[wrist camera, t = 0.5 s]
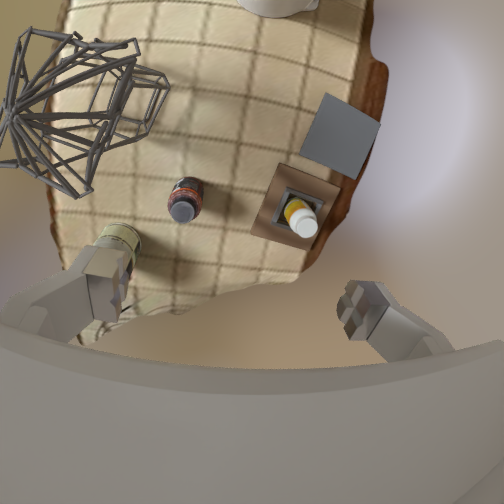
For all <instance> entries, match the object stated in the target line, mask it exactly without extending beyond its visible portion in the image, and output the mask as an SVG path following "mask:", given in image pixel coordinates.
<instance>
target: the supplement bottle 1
mask: <svg viewBox="0 0 504 504" xmlns="http://www.w3.org/2000/svg"><path fill="white" fill-rule="evenodd" d="M202 200H203V186H202V184H201V183H200V181H199V180H197V179H196V178H193V177H184V178H182V179H180V180H179V181H178V182H177V183H176V185H175V186H174V188H173V191H172V193H171V195H170V198H169V200H168V210H169V213H170V214H171V216H172V218H173V219H174V220H175V221H176V222H178V223H184V224H185V223H188V222H190V221H191V220H193V219H195V218H196V217H197V216H198V215H199V213H200V211H201V207H202Z"/></svg>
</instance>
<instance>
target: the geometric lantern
mask: <svg viewBox="0 0 504 504" xmlns="http://www.w3.org/2000/svg"><path fill="white" fill-rule="evenodd" d="M26 32H27V35H26V38H25V41H24V44H23V47H22V45H21V41H20V38H21V37H22V36H23V35H24V34H25V33H26ZM31 34H36V35H40V36H44V37H48V38H51V39H55V40H58V41H62V43H61V44H60V45H59V47H58V48H57V49H56V50H55V51H54V52H53V53H52V55H51V56H50V57H49V58H48V60H47V61H46V62H45V63H44V64H43V66H42V67H41V68H40V69H39V71H38V72H37V73H36V75H35V76H34V77H33V79H32V80H31V81H29V80H28V75H27V71H26V67H25V62H24V57H25V53H26V50H27V46H28V43H29V40H30V36H31ZM73 35H75V36H76V37H77V38H78V39H75V38H73ZM72 38H73V39H72ZM82 39H83V37H82V36H81V35H80V34H78V33H77V32H76V31H74V32H73V34H65V33H59V32H53V31H45V30H38V29H33V28H32V26H30V27H29V28H28V29H27V30H26V31H24V32H23V33H22V34H21V35H20V36H19V37H18V40H17V42H16V44H15V48H14V53H13V59H12V64H11V68H10V73H9V79H8V84H7V91H6V97H5V98H3V102H2V104H1V107H0V120H1V117H2V114H3V110H4V111H5V113H6V116H5V118H4V120H3V122H2V124H1V126H0V136H1V134H2V136H1V140H0V147H1V144H2V141H3V138H4V136H5V133H6V130H7V127H8V128H9V132H10V136H11V140H12V143H13V147H14V150H15V153H16V156H17V159H12V160H5V161H0V168H18V167H19V168H20V169H22V170H23V171H25V172H26V173H28V174H30V175H31V176H33V177H34V178H38V179H39V180H41V181H43V182H45V183H47V184H48V185H50V186H52V187H54V188H56V189H58V190H59V191H61V192H63V193H65V194H67V195H69V196H71V197H73V198H74V199H75V200H76V199H78V198H79V199H80V198H82V197H84V196H85V195H87V194H89V193H91V192H93V191H94V189H93V188H92V187H91V183H92V180H93V177H94V174H95V171H96V168H97V165H98V162H99V159H100V157H101V155H102V154H103V152H106V151H108V150H111V149H113V148H117V147H120V146H124V145H127V144H131V143H134V142H137V141H139V140H141V139H142V138H144V137H146V136H147V135H148V134H149V131H150V129H151V127H152V125H153V123H154V120H155V118H156V116H157V114H158V112H159V110H160V108H161V106H162V104H163V102H164V100H165V98H166V96H167V94H168V92H169V90H170V84H169V82H168V80H167V78H166V76H165V74H164V73H161V72H158V71H155V70H152V69H149V68H147V67H144V66H141V65H138V64H136V61H137V58H136V57H137V56H140V55H141V53H140V49H139V46H138V43H137V39H136V38H131V39H129V40H126V41H123V42H121V43H104V42H102V41H101V40H99V39H98V38H95V39H94V41H95V42H97V43H95V42H92V43H90V44H88V43H86V42H83V41H81V40H82ZM132 41H133V42H134V45H135V48H136V52H137V53H136V54H133V55H130V56H126V57H123V58H120V59H117V58H111V57H104V56H102V55H101V54H102V53H104V52H106V51H110V50H118V49H126V48H127V47H128V44H127V43H129V42H132ZM67 43H68V44H71V45H74V46H75V49H74V54H73V55H71V56H68V57H65V58H61V60H60V62H59V64H58V65H57V66H55V67H53V68H52V69H50V70H48V71H46V72H44V71H45V69H46V68H47V67H48V66H49V64H50V63H51V62H52V61H53V60H54V58H55V57H56V56H57V55H58V54H59V52H60V51H61V50H62V49H63V48H64V47H65V45H66V44H67ZM79 47H82V48H83V49H81V50H80V51H78V49H79ZM88 50H90V51H93V50H94V51H95V52H97V53H94V54H88V53H86V52H87V51H88ZM17 55H19V62H18V65H17V69H16V72H15V66H16V60H17ZM97 55H98V56H97ZM77 58H84V59H82V60H80V61H76V59H77ZM89 59H99V60H103V61H105V62H107V63H105V64H102V65H97V64H92V63H87V62H85V61H87V60H89ZM62 62H63V63H62ZM69 64H72V65H70V66H68V65H69ZM77 65H84V66H90V67H94V68H92V69H89V70H87V71H84V72H82V73H80V74H77V75H75V76H73V77H70V78H68V79H66V80H64V81H62V82H59V83H57V84H55V85H53V84H54V82H55V79H56V77H57V76H58V75H60V74H62V73H64V72H65V71H67V70H69V69H71V68H73V67H75V66H77ZM67 66H68V67H67ZM122 66H125V67H126V69H125V72H124V71H123V70H122ZM119 67H120V68H119ZM134 67H137V68H140V69H143V70H146V71H143V70H136V69H134ZM21 69H22V74H23V75H21V74H20V73H21ZM54 69H55V70H54ZM112 69H117V70H118V71H120V72H121V76H119V77H118V76H117V75H116V74H115V73H113V72H112V71H111V70H112ZM52 70H54V71H52ZM50 71H52V72H51V73H50V74H49V75H48V76H46V77H45V78H44V79H43V80H42V81H41V82H40V83H39V84H37V85H36V86H34V84H35V83H36V81H37V80H38V79H39V78H40V77H41V76H43V75H45V74H47V73H49V72H50ZM107 71H109V72H110V73H111V74H113V75H114V76H115V77H116V78H117V80H116V82H115V85H114V88H113V91H112V94H111V97H110V100H109V103H108V107H107V110H106V111H98V112H90V110H91V107H92V105H93V102H94V100H95V97H96V95H97V92H98V90H99V87H100V85H101V83H102V81H103V78H104V76H105V74H106V72H107ZM14 72H15V73H14ZM43 72H44V73H43ZM101 73H103V74H102V76H101V79H100V81H99V83H98V85H97V88H96V90H95V93H94V95H93V98H92V100H91V103H90V105H89V108H88V111H87V112H84V113H75V112H55V113H44V111H45V108H46V105H47V102H48V99H49V96H51V95H53V94H55V93H57V92H59V91H61V90H63V89H65V88H68V87H70V86H72V85H74V84H76V83H79V82H81V81H83V80H86V79H88V78H91V77H93V76H96V75H98V74H101ZM132 73H133V74H144V75H153V76H160V77H159V78H158V79H157V80H156V81H155V82H154V81H150V80H147V79H143V78H138V77H134V76H132ZM121 77H122V78H121ZM161 77H163V79H164V81H165V83H166V85H167V86H160V85H159V84H158V83H157V82H158V81H159V79H160V78H161ZM19 78H23V79H24V84H23V87H22V89H21V92H20V94H19V97H18V98H17V99H16V94H17V88H18V83H19ZM119 78H121V79H119ZM51 79H53V80H52V82H51V85H50V87H49V88H47V89H45V90H44V91H42V92H40V93H38V94H36V92H38V91H39V90H40V89H41V88H42V87H43V86H44V85H45V84H47V83H48V82H49V81H50V80H51ZM132 79H135V80H139V81H144V82H148V83H152V84H154V85H150V84H137V83H135V81H134V80H132ZM118 80H119V84H118V86H117V89H116V92H115V95H114V97H113V94H114V91H115V88H116V85H117V82H118ZM28 82H29V84H28ZM27 85H28V86H27ZM127 85H128V88H127V90H126V87H127ZM33 86H34V87H33ZM32 87H33V88H32ZM133 87H136V88H155V89H154V92H153V94H152V97H151V100H150V102H149V105H148V108H147V111H146V113H145V116H144V119H143V121H137V120H133V119H130V118H126V117H122V116H121V114H122V111H123V109H124V107H125V104H126V102H127V100H128V98H129V95H130V93H131V91H132V89H133ZM157 89H158V91H157V94H156V96H155V99H154V101H153V104H152V106H151V109H150V112H149V114H148V111H149V108H150V105H151V103H152V100H153V97H154V95H155V92H156V90H157ZM160 89H166V91H165V93H164V95H163V97H162V99H161V101H160V103H159V105H158V107H157V109H156V111H155V113H154V116H153V118H152V120H151V122H150V124H149V126H148V129H147V127H146V124H145V122H146V121H148V120H149V117H150V114H151V112H152V109H153V106H154V104H155V101H156V99H157V96H158V94H159V91H160ZM125 90H126V91H125ZM35 94H36V95H35ZM112 97H113V100H112ZM45 98H46V100H45V103H44V106H43V110H42V113H33V112H32V111H31V110H30V109H28V108H29V107H31V106H32V105H34V104H36V103H38V102H40V101H42V100H43V99H45ZM111 100H112V103H111ZM15 102H16V104H15ZM110 103H111V106H110ZM109 106H110V109H109ZM108 109H109V110H108ZM22 111H26V112H27V113H28V114H19V113H21V112H22ZM103 113H107V114H103ZM147 114H148V117H147V119H146V116H147ZM42 119H43V120H42ZM60 119H88V120H89V122H90V124H89V125H81V126H75V127H69V128H63V129H57V128H54V127H51V126H48V125H45V124H43V123H45V122H50V121H55V120H60ZM91 119H100V120H99V121H97V122H96V123H94V124H93V122H92V120H91ZM119 119H121V120H125V121H129V122H133V123H136V124H139V125H138V128H137V132H136V135H135V137H132V138H129V137H127V136H124V135H121V134H119V133H116V132H115V129H116V126H117V124H118V121H119ZM33 120H37V121H39V122H40V123H38V122H36V121H33ZM102 120H110V121H109V124H108V121H104V122H103V124H102V126H101V127H100V126H97V125H96V124H98V123H99V122H101V121H102ZM115 120H116V121H115ZM114 122H115V123H114ZM21 124H22V125H24V126H25V127H26V128H27V129H28V130H29V131H30V132H31V133H32V134H33V135H34V136H35V137H36V138H37V139H38V140H39V141H40V143H39V147H38V146H37V145H36V144H35V143H34V141H33V140H32V139H31V138H30V136H29V135H28V134H27V132H26V131H25V130H24V129H23V127H22V126H21ZM141 124H144V127H145V130H146V133H144V134H141V135H138V132H139V128H140V125H141ZM113 125H114V126H113ZM107 126H108V127H107ZM31 127H32V128H36V129H39V130H41V137H40V136H39V135H38V134H37V133H36V132H35V131H34V130H33V129H32V128H31ZM89 127H94V128H97V129H100V130H99V132H98V134H97V136H96V138H95V140H94V141H91V140H88V139H85V138H83V137H80V136H77V135H74V134H71V133H68V132H66V131H71V130H76V129H82V128H89ZM106 128H107V129H106ZM112 128H113V129H112ZM44 131H45V132H44ZM104 132H106V133H105V136H103V134H104ZM51 134H54V135H57V136H60V137H63V138H66V139H69V140H72V141H75V142H78V143H81V144H84V145H87V146H90V147H91V148H90V149H89V150H87V149H84V148H81V147H79V146H76V145H73V144H70V143H68V142H65V141H62V140H59V139H57V138H54V137H51V136H48V135H51ZM113 135H116V136H118V137H121V138H123V139H126V140H123V141H120V142H118V143H115V144H112V145H110V142H111V140H112V137H113ZM137 135H138V136H137ZM102 136H103V138H102ZM43 137H45V138H48V139H51V140H53V141H56V142H59V143H62V144H64V145H67V146H70V147H73V148H75V149H78V150H81V151H83V152H86V153H84V154H81V155H78V156H75V157H72V158H69V159H66V160H63V159H62V158H61V157H60V156H59V155H58V154H57V153H56V152H55V151H54V150H53V149H52V148H51V147H50V146H49V145H48V144H47V143H46V142H45V141H44V140H43ZM101 138H102V140H101ZM23 139H24V140H25V141H26V143H27V144H28V145H29V147H30V148H31V149H32V150H33V152H34V153H35V154H36V155H37V156H36V157H32V155H31V153H30V151H29V150H28V148H27V146H26V144H25V142H24V140H23ZM100 140H101V142H100ZM99 142H100V143H99ZM106 142H107V145H106V147H105V144H106ZM18 143H19V145H20V147H21V149H22V151H23V152H24V154H25V156H26V158H22V156H21V153H20V149H19V145H18ZM41 144H43V145H44V146H45V147H46V148H47V149H48V150H49V151H50V152H51V153H52V154H53V155H54V156H55V157H56V158H57V159H58V160H59V161H60V162H58V163H56V164H52V163H51V162H50V161H49V160H48V158H47V157H46V156H45V155H44V154H43V153H42V151H41V150H40V148H41ZM109 145H110V146H109ZM95 154H96V156H95V158H94V161H93V157H94V155H95ZM87 156H88V160H87V167H86V174H85V180H84V179H83V178H81V177H80V176H79V175H78V174H77V173H76V172H75V171H74V170H73V169H72V168H71V167H70V166H69V165H68V164H67V163H70V162H73V161H75V160H78V159H81V158H84V157H87ZM36 162H39V163H41V164H43V165H45V166H46V168H47V169H46V170H45V171H43V172H41V171H40V169H39V168H38V166H37V164H36ZM17 163H19V165H18V164H17ZM92 163H93V164H92ZM29 164H31V166H32V168H33V169H34V171H35V172H34V171H33V170H31V169H30V168H28V167H27V165H29ZM62 165H64V166H65V167H66V168H67V169H68V170H69V171H70V172H71V173H72V174H73V175H74V176H76V177H77V178H78V179H79V180H80V181H81V182H82V183H83V184H84V190H85V191H87V192H85V193H83V194H81V195H80V194H79V193H78V192H77V191H76V190H75V189H74V188H73V187H72V186H71V185H70V184H69V182H68V181H67V180H66V179H65V178H64V177H63V176H62V175H61V173H60V172H59V171H58V170H57V169H56V168H57V167H59V166H62ZM49 171H50V172H51V173H52V175H53V176H54V177H55V178H56V179H57V180H58V181H59V183H60V184H61V185H60V184H58V183H56V182H54V181H52V180H51V179H49V178H47V177H45V176H43V175H44V174H46V173H47V172H49ZM89 189H90V190H89Z"/></svg>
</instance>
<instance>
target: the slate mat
mask: <svg viewBox="0 0 504 504" xmlns="http://www.w3.org/2000/svg"><path fill="white" fill-rule="evenodd" d="M380 126H381V124H380V123H379V122H377V121H375V120H374V119H372V118H371V117H369V116H367V115H366V114H364V113H362V112H361V111H359V110H357V109H356V108H354V107H352V106H350V105H348V104H347V103H345V102H343V101H341V100H339V99H337V98H336V97H334V96H332V95H330V94H328V93H325V95H324V98H323V100H322V102H321V105H320V107H319V109H318V111H317V114H316V116H315V118H314V121H313V123H312V125H311V127H310V130H309V132H308V134H307V137H306V139H305V141H304V144H303V146H302V148H301V150H300V153H299V155H301V156H303V157H306V158H308V159H311V160H313V161H315V162H318V163H320V164H322V165H324V166H327V167H329V168H331V169H333V170H335V171H338V172H340V173H342V174H344V175H346V176H348V177H350V178H352V179H355V180H356V178H357V176H358V174H359V172H360V170H361V167H362V165H363V163H364V161H365V159H366V157H367V155H368V152H369V150H370V148H371V146H372V144H373V141H374V139H375V137H376V135H377V132H378V130H379V128H380Z"/></svg>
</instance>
